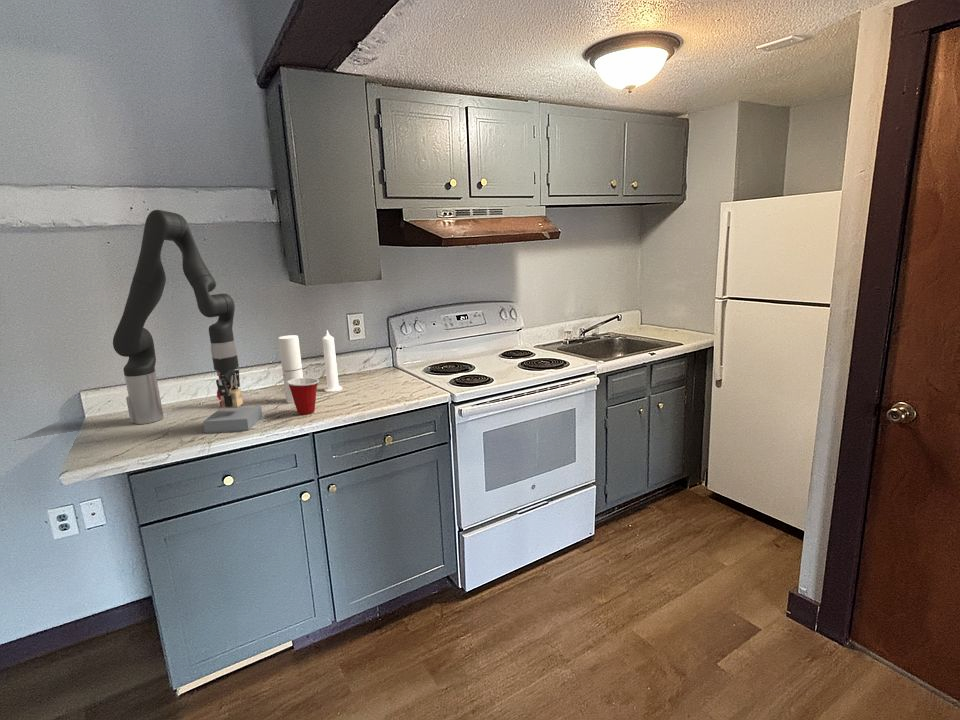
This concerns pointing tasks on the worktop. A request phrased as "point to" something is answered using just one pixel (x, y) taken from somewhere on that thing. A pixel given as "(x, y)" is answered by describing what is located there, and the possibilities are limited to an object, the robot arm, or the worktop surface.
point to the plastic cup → (304, 394)
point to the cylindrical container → (290, 362)
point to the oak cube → (233, 399)
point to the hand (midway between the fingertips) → (232, 403)
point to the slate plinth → (233, 419)
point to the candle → (330, 364)
